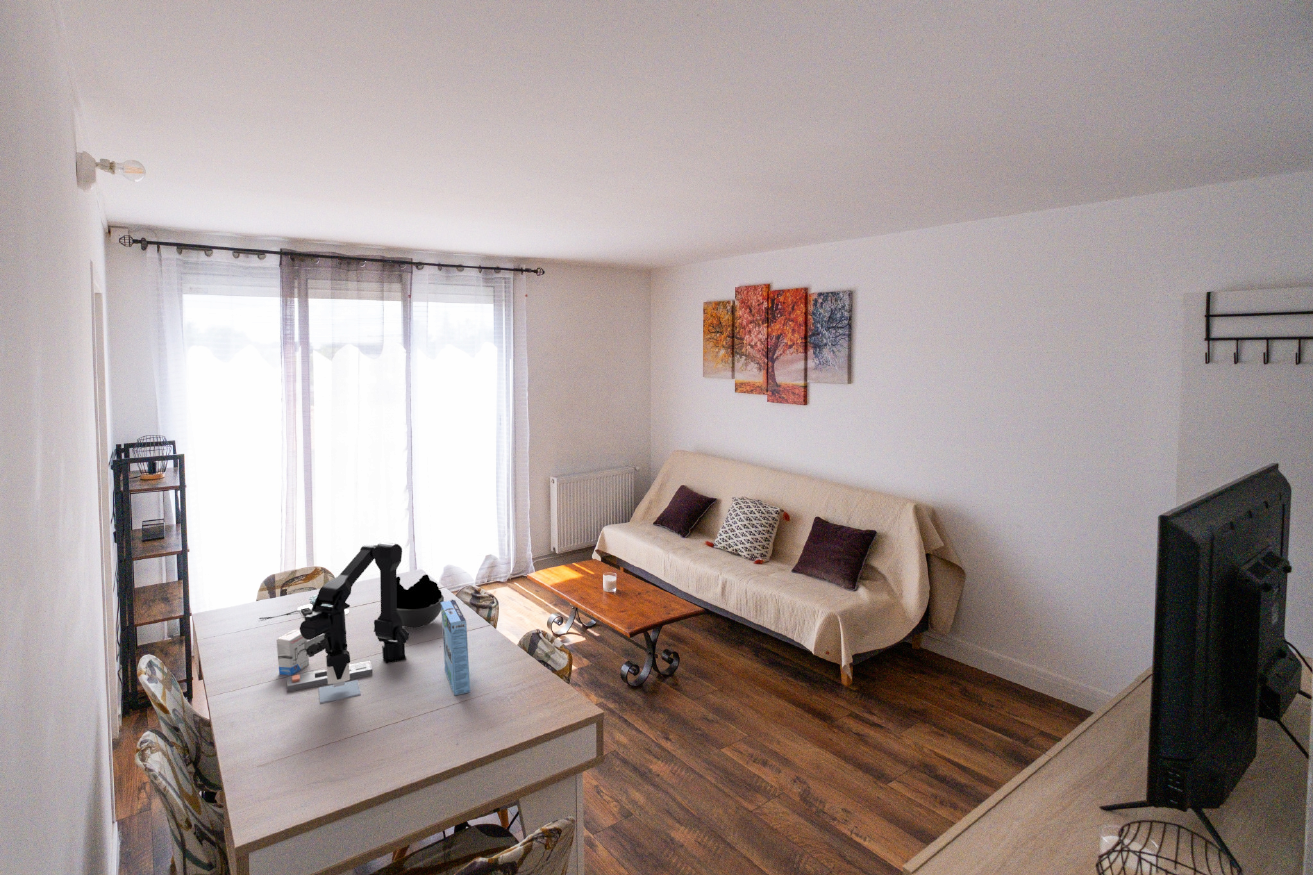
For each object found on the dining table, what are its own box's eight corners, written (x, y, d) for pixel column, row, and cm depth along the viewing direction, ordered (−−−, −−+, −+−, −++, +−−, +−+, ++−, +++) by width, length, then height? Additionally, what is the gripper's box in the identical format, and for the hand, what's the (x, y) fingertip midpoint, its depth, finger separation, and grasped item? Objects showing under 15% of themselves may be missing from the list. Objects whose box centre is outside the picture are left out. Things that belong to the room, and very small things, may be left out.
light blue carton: (470, 692, 212) (467, 620, 209) (453, 696, 210) (449, 623, 207) (459, 666, 230) (456, 599, 227) (443, 669, 228) (440, 601, 225)
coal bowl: (456, 622, 266) (454, 574, 264) (412, 641, 249) (409, 590, 247) (421, 612, 277) (418, 565, 274) (377, 629, 260) (374, 580, 258)
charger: (349, 679, 216) (346, 647, 215) (350, 685, 212) (348, 653, 211) (327, 683, 213) (325, 651, 212) (328, 690, 209) (326, 657, 208)
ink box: (291, 675, 224) (289, 640, 222) (278, 674, 225) (275, 639, 223) (310, 663, 232) (307, 629, 231) (297, 662, 233) (294, 628, 232)
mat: (357, 681, 220) (357, 679, 220) (360, 695, 211) (360, 693, 211) (318, 689, 215) (318, 687, 215) (320, 704, 206) (319, 702, 206)
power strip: (370, 666, 230) (369, 658, 230) (372, 675, 224) (371, 666, 224) (287, 682, 219) (286, 674, 219) (287, 692, 213) (286, 683, 213)
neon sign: (255, 606, 274) (335, 589, 292) (256, 617, 274) (336, 599, 293) (267, 623, 257) (351, 604, 276) (268, 634, 258) (351, 614, 276)
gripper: (304, 620, 215) (308, 669, 217) (305, 643, 198) (309, 695, 200) (344, 614, 220) (347, 661, 222) (348, 635, 203) (352, 686, 206)
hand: (338, 675), depth 212 cm, fingers closed on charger, 4 cm apart
